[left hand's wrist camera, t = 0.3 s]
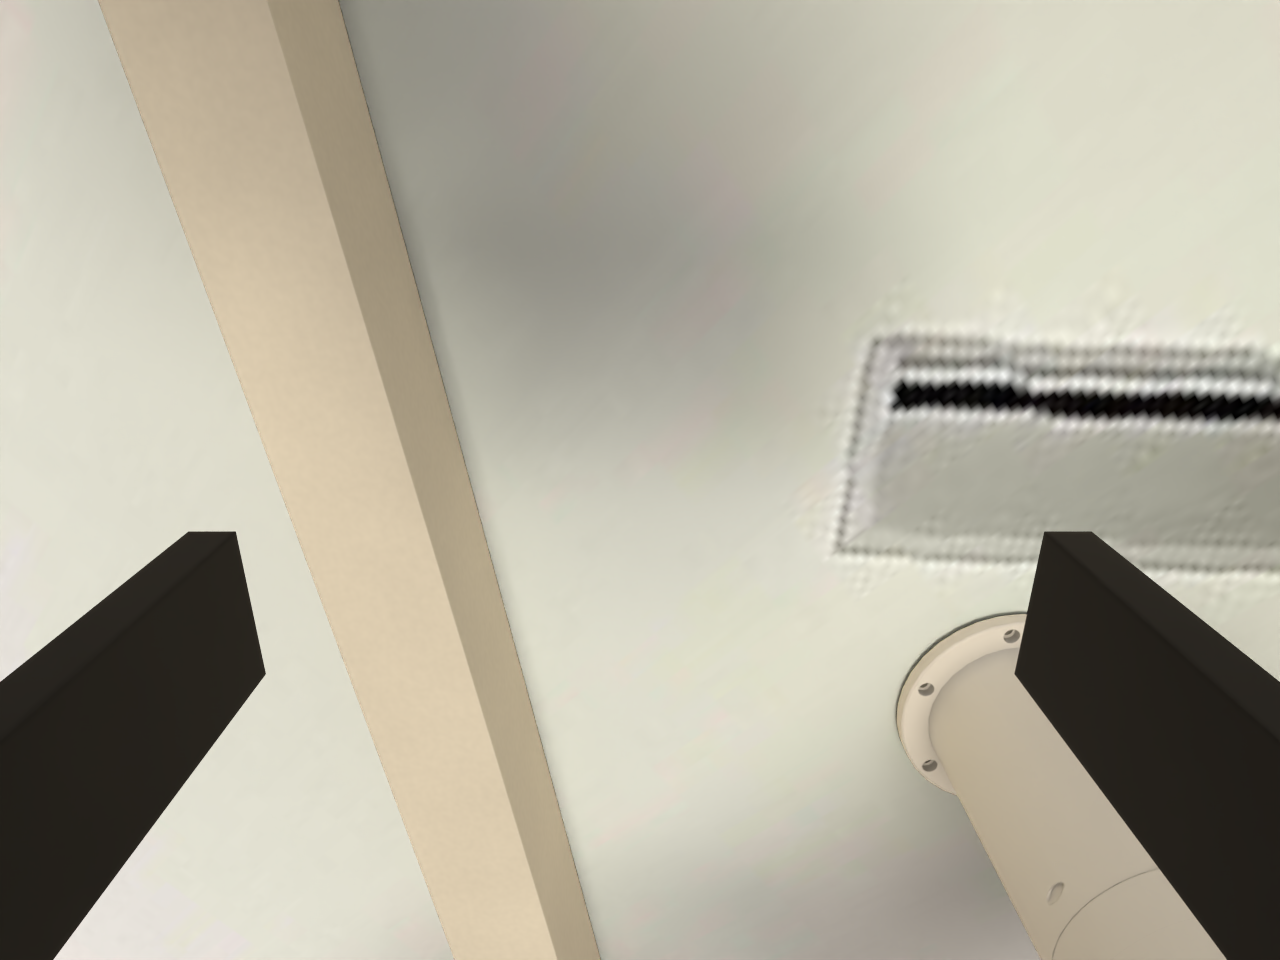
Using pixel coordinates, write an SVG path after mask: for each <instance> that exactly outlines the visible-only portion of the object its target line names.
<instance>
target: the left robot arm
mask: <svg viewBox="0 0 1280 960" xmlns="http://www.w3.org/2000/svg"><path fill="white" fill-rule="evenodd" d="M265 674H266V673H265V668H264V663H263V659H262V654H261V649H260V645H259V640H258V635H257V630H256V626H255V621H254V616H253V611H252V607H251V602H250V597H249V592H248V588H247V583H246V578H245V574H244V569H243V564H242V559H241V555H240V550H239V545H238V540H237V536H236V532H187V533H186V534H185V535H184V536H182V537H181V538H180V539H179V540H177V541H176V542H175V543H174V544H172V545H171V546H170V547H169V548H167V549H166V550H165V551H164V552H162V553H161V554H160V555H159V556H157V557H156V558H155V559H154V560H152V561H151V562H150V563H149V564H147V565H146V566H145V567H144V568H142V569H141V570H140V571H139V572H137V573H136V574H135V575H134V576H132V577H131V578H130V579H129V580H127V581H126V582H125V583H124V584H122V585H121V586H120V587H119V588H117V589H116V590H115V591H114V592H112V593H111V594H110V595H109V596H107V597H106V598H105V599H104V600H102V601H101V602H100V603H99V604H97V605H96V606H95V607H94V608H92V609H91V610H90V611H89V612H87V613H86V614H85V615H84V616H82V617H81V618H80V619H79V620H77V621H76V622H75V623H74V624H72V625H71V626H70V627H69V628H67V629H66V630H65V631H64V632H62V633H61V634H60V635H59V636H57V637H56V638H55V639H54V640H52V641H51V642H50V643H48V644H47V645H46V646H45V647H43V648H42V649H41V650H40V651H38V652H37V653H36V654H35V655H33V656H32V657H31V658H30V659H28V660H27V661H26V662H25V663H23V664H22V665H21V666H20V667H18V668H17V669H16V670H15V671H13V672H12V673H11V674H10V675H8V676H7V677H6V678H5V679H3V680H2V681H1V682H0V960H53V959H54V958H55V957H56V955H57V954H58V953H59V951H60V950H61V948H62V947H63V946H64V944H65V943H66V942H67V940H68V939H69V938H70V936H71V935H72V934H73V932H74V931H75V930H76V928H77V927H78V926H79V924H80V923H81V922H82V920H83V919H84V918H85V916H86V915H87V914H88V912H89V911H90V910H91V908H92V907H93V905H94V904H95V903H96V901H97V900H98V899H99V897H100V896H101V895H102V893H103V892H104V891H105V889H106V888H107V887H108V885H109V884H110V883H111V881H112V880H113V879H114V877H115V876H116V875H117V873H118V872H119V871H120V869H121V868H122V866H123V865H124V864H125V862H126V861H127V860H128V858H129V857H130V856H131V854H132V853H133V852H134V850H135V849H136V848H137V846H138V845H139V844H140V842H141V841H142V840H143V838H144V837H145V836H146V834H147V833H148V832H149V830H150V829H151V828H152V826H153V825H154V823H155V822H156V821H157V819H158V818H159V817H160V815H161V814H162V813H163V811H164V810H165V809H166V807H167V806H168V805H169V803H170V802H171V801H172V799H173V798H174V797H175V795H176V794H177V793H178V791H179V790H180V789H181V787H182V786H183V785H184V783H185V782H186V780H187V779H188V778H189V776H190V775H191V774H192V772H193V771H194V770H195V768H196V767H197V766H198V764H199V763H200V762H201V760H202V759H203V758H204V756H205V755H206V754H207V752H208V751H209V750H210V748H211V747H212V746H213V744H214V743H215V741H216V740H217V739H218V737H219V736H220V735H221V733H222V732H223V731H224V729H225V728H226V727H227V725H228V724H229V723H230V721H231V720H232V719H233V717H234V716H235V715H236V713H237V712H238V711H239V709H240V708H241V707H242V705H243V704H244V703H245V701H246V700H247V698H248V697H249V696H250V694H251V693H252V692H253V690H254V689H255V688H256V686H257V685H258V684H259V682H260V681H261V680H262V678H263V677H264V676H265ZM1014 674H1015V676H1016V677H1017V678H1018V680H1019V681H1020V682H1021V684H1022V685H1023V686H1024V688H1025V689H1026V690H1027V692H1028V693H1029V694H1030V696H1031V697H1032V698H1033V700H1034V701H1035V703H1036V704H1037V705H1038V707H1039V708H1040V709H1041V711H1042V712H1043V713H1044V715H1045V716H1046V717H1047V719H1048V720H1049V721H1050V723H1051V724H1052V725H1053V727H1054V728H1055V729H1056V731H1057V732H1058V733H1059V735H1060V736H1061V737H1062V739H1063V740H1064V742H1065V743H1066V744H1067V746H1068V747H1069V748H1070V750H1071V751H1072V752H1073V754H1074V755H1075V756H1076V758H1077V759H1078V760H1079V762H1080V763H1081V764H1082V766H1083V767H1084V768H1085V770H1086V771H1087V772H1088V774H1089V775H1090V776H1091V778H1092V779H1093V780H1094V782H1095V783H1096V785H1097V786H1098V787H1099V789H1100V790H1101V791H1102V793H1103V794H1104V795H1105V797H1106V798H1107V799H1108V801H1109V802H1110V803H1111V805H1112V806H1113V807H1114V809H1115V810H1116V811H1117V813H1118V814H1119V815H1120V817H1121V818H1122V819H1123V821H1124V822H1125V823H1126V825H1127V826H1128V828H1129V829H1130V830H1131V832H1132V833H1133V834H1134V836H1135V837H1136V838H1137V840H1138V841H1139V842H1140V844H1141V845H1142V846H1143V848H1144V849H1145V850H1146V852H1147V853H1148V854H1149V856H1150V857H1151V858H1152V860H1153V861H1154V862H1155V864H1156V865H1157V866H1158V868H1159V869H1160V871H1161V872H1162V873H1163V875H1164V876H1165V877H1166V879H1167V880H1168V881H1169V883H1170V884H1171V885H1172V887H1173V888H1174V889H1175V891H1176V892H1177V893H1178V895H1179V896H1180V897H1181V899H1182V900H1183V901H1184V903H1185V904H1186V905H1187V907H1188V908H1189V910H1190V911H1191V912H1192V914H1193V915H1194V916H1195V918H1196V919H1197V920H1198V922H1199V923H1200V924H1201V926H1202V927H1203V928H1204V930H1205V931H1206V932H1207V934H1208V935H1209V936H1210V938H1211V939H1212V940H1213V942H1214V943H1215V944H1216V946H1217V947H1218V948H1219V950H1220V951H1221V953H1222V954H1223V955H1224V957H1225V958H1226V959H1227V960H1280V682H1279V681H1278V680H1277V679H1275V678H1274V677H1273V676H1272V675H1270V674H1269V673H1268V672H1267V671H1265V670H1264V669H1263V668H1262V667H1260V666H1259V665H1258V664H1257V663H1255V662H1254V661H1253V660H1252V659H1250V658H1249V657H1248V656H1247V655H1245V654H1244V653H1243V652H1242V651H1240V650H1239V649H1238V648H1237V647H1235V646H1234V645H1233V644H1232V643H1230V642H1229V641H1228V640H1226V639H1225V638H1224V637H1223V636H1221V635H1220V634H1219V633H1218V632H1216V631H1215V630H1214V629H1213V628H1211V627H1210V626H1209V625H1208V624H1206V623H1205V622H1204V621H1203V620H1201V619H1200V618H1199V617H1198V616H1196V615H1195V614H1194V613H1193V612H1191V611H1190V610H1189V609H1188V608H1186V607H1185V606H1184V605H1183V604H1181V603H1180V602H1179V601H1178V600H1176V599H1175V598H1174V597H1173V596H1171V595H1170V594H1169V593H1168V592H1166V591H1165V590H1164V589H1163V588H1161V587H1160V586H1159V585H1158V584H1156V583H1155V582H1154V581H1153V580H1151V579H1150V578H1149V577H1148V576H1146V575H1145V574H1144V573H1143V572H1141V571H1140V570H1139V569H1138V568H1136V567H1135V566H1134V565H1133V564H1131V563H1130V562H1129V561H1128V560H1126V559H1125V558H1124V557H1123V556H1121V555H1120V554H1119V553H1118V552H1116V551H1115V550H1114V549H1113V548H1111V547H1110V546H1109V545H1108V544H1106V543H1105V542H1104V541H1103V540H1101V539H1100V538H1099V537H1098V536H1096V535H1095V534H1094V533H1093V532H1044V536H1043V540H1042V545H1041V550H1040V555H1039V559H1038V564H1037V569H1036V574H1035V578H1034V583H1033V588H1032V592H1031V597H1030V602H1029V607H1028V611H1027V616H1026V621H1025V626H1024V630H1023V635H1022V640H1021V645H1020V649H1019V654H1018V659H1017V663H1016V668H1015V673H1014Z"/></svg>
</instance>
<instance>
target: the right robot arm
mask: <svg viewBox="0 0 1280 960" xmlns="http://www.w3.org/2000/svg"><path fill="white" fill-rule="evenodd" d="M1026 616H1027V614H1016V615H1006V616H998V617H995V618H991V619H987V620H983V621H980V622H977V623H974V624H972V625H970V626H967V627H965V628H963V629H961V630H958V631H956V632H955V633H953V634H952V635H950V636H949V637H947V638H945V639H944V640H942V641H941V642H939V643H938V644H937V645H936V646H935V647H934V648H932V649H931V650H930V651H929V652H928V653H927V654H926V655H925V656H923V658H922V659H921V660H920V661H919V663H918V664H917V665H916V666H915V668H914V669H913V670H912V672H911V673H910V675H909V677H908V679H907V681H906V683H905V685H904V686H903V688H902V692H901V695H900V699H899V702H898V706H897V727H898V732H899V737H900V740H901V742H902V745H903V747H904V749H905V752H906V754H907V756H908V758H909V759H910V761H911V762H912V764H913V766H914V767H915V769H916V770H917V771H918V772H919V773H920V774H921V775H922V776H923V777H924V778H925V779H926V780H927V781H929V782H931V783H932V784H934V785H935V786H937V787H938V788H940V789H942V790H944V791H946V792H949V793H951V794H954V795H956V796H958V798H959V800H960V802H961V804H962V806H963V807H964V809H965V811H966V813H967V815H968V817H969V819H970V821H971V823H972V825H973V827H974V829H975V831H976V833H977V835H978V837H979V839H980V841H981V843H982V845H983V847H984V849H985V851H986V853H987V855H988V857H989V859H990V861H991V863H992V864H993V866H994V868H995V870H996V872H997V874H998V876H999V878H1000V880H1001V882H1002V884H1003V886H1004V888H1005V890H1006V892H1007V894H1008V896H1009V898H1010V900H1011V902H1012V904H1013V906H1014V908H1015V910H1016V912H1017V914H1018V916H1019V918H1020V920H1021V922H1022V923H1023V925H1024V927H1025V929H1026V931H1027V933H1028V935H1029V937H1030V939H1031V941H1032V943H1033V945H1034V947H1035V949H1036V951H1037V953H1038V955H1039V957H1040V959H1041V960H1227V959H1226V958H1225V957H1224V955H1223V954H1222V953H1221V951H1220V950H1219V948H1218V947H1217V946H1216V944H1215V943H1214V942H1213V940H1212V939H1211V938H1210V936H1209V935H1208V934H1207V932H1206V931H1205V930H1204V928H1203V927H1202V926H1201V924H1200V923H1199V922H1198V920H1197V919H1196V918H1195V916H1194V915H1193V914H1192V912H1191V911H1190V910H1189V908H1188V907H1187V905H1186V904H1185V903H1184V901H1183V900H1182V899H1181V897H1180V896H1179V895H1178V893H1177V892H1176V891H1175V889H1174V888H1173V887H1172V885H1171V884H1170V883H1169V881H1168V880H1167V879H1166V877H1165V876H1164V875H1163V873H1162V872H1161V871H1160V869H1159V868H1158V866H1157V865H1156V864H1155V862H1154V861H1153V860H1152V858H1151V857H1150V856H1149V854H1148V853H1147V852H1146V850H1145V849H1144V848H1143V846H1142V845H1141V844H1140V842H1139V841H1138V840H1137V838H1136V837H1135V836H1134V834H1133V833H1132V832H1131V830H1130V829H1129V828H1128V826H1127V825H1126V823H1125V822H1124V821H1123V819H1122V818H1121V817H1120V815H1119V814H1118V813H1117V811H1116V810H1115V809H1114V807H1113V806H1112V805H1111V803H1110V802H1109V801H1108V799H1107V798H1106V797H1105V795H1104V794H1103V793H1102V791H1101V790H1100V789H1099V787H1098V786H1097V785H1096V783H1095V782H1094V780H1093V779H1092V778H1091V776H1090V775H1089V774H1088V772H1087V771H1086V770H1085V768H1084V767H1083V766H1082V764H1081V763H1080V762H1079V760H1078V759H1077V758H1076V756H1075V755H1074V754H1073V752H1072V751H1071V750H1070V748H1069V747H1068V746H1067V744H1066V743H1065V742H1064V740H1063V739H1062V737H1061V736H1060V735H1059V733H1058V732H1057V731H1056V729H1055V728H1054V727H1053V725H1052V724H1051V723H1050V721H1049V720H1048V719H1047V717H1046V716H1045V715H1044V713H1043V712H1042V711H1041V709H1040V708H1039V707H1038V705H1037V704H1036V703H1035V701H1034V700H1033V698H1032V697H1031V696H1030V694H1029V693H1028V692H1027V690H1026V689H1025V688H1024V686H1023V685H1022V684H1021V682H1020V681H1019V680H1018V678H1017V677H1016V676H1015V674H1014V673H1015V668H1016V663H1017V659H1018V654H1019V649H1020V645H1021V640H1022V635H1023V630H1024V626H1025V621H1026Z"/></svg>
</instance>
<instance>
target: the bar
mask: <svg viewBox="0 0 1280 960" xmlns="http://www.w3.org/2000/svg"><path fill="white" fill-rule="evenodd" d="M98 2H99V4H100V7H101V10H102V12H103V15H104V18H105V20H106V23H107V26H108V28H109V31H110V34H111V37H112V39H113V42H114V45H115V47H116V50H117V53H118V55H119V58H120V61H121V63H122V66H123V69H124V71H125V74H126V77H127V80H128V82H129V85H130V88H131V90H132V93H133V96H134V98H135V101H136V104H137V106H138V109H139V112H140V115H141V117H142V120H143V123H144V125H145V128H146V131H147V133H148V136H149V139H150V141H151V144H152V147H153V150H154V152H155V155H156V158H157V160H158V163H159V166H160V168H161V171H162V174H163V176H164V179H165V182H166V184H167V187H168V190H169V193H170V195H171V198H172V201H173V203H174V206H175V209H176V211H177V214H178V217H179V219H180V222H181V225H182V228H183V230H184V233H185V236H186V238H187V241H188V244H189V246H190V249H191V252H192V254H193V257H194V260H195V263H196V265H197V268H198V271H199V273H200V276H201V279H202V281H203V284H204V287H205V289H206V292H207V295H208V297H209V300H210V303H211V306H212V308H213V311H214V314H215V316H216V319H217V322H218V324H219V327H220V330H221V332H222V335H223V338H224V341H225V343H226V346H227V349H228V351H229V354H230V357H231V359H232V362H233V365H234V367H235V370H236V373H237V376H238V378H239V381H240V384H241V386H242V389H243V392H244V394H245V397H246V400H247V402H248V405H249V408H250V410H251V413H252V416H253V419H254V421H255V424H256V427H257V429H258V432H259V435H260V437H261V440H262V443H263V445H264V448H265V451H266V454H267V456H268V459H269V462H270V464H271V467H272V470H273V472H274V475H275V478H276V480H277V483H278V486H279V489H280V491H281V494H282V497H283V499H284V502H285V505H286V507H287V510H288V513H289V515H290V518H291V521H292V523H293V526H294V529H295V532H296V534H297V537H298V540H299V542H300V545H301V548H302V550H303V553H304V556H305V558H306V561H307V564H308V567H309V569H310V572H311V575H312V577H313V580H314V583H315V585H316V588H317V591H318V593H319V596H320V599H321V602H322V604H323V607H324V610H325V612H326V615H327V618H328V620H329V623H330V626H331V628H332V631H333V634H334V637H335V639H336V642H337V645H338V647H339V650H340V653H341V655H342V658H343V661H344V663H345V666H346V669H347V671H348V674H349V677H350V680H351V682H352V685H353V688H354V690H355V693H356V696H357V698H358V701H359V704H360V706H361V709H362V712H363V715H364V717H365V720H366V723H367V725H368V728H369V731H370V733H371V736H372V739H373V741H374V744H375V747H376V750H377V752H378V755H379V758H380V760H381V763H382V766H383V768H384V771H385V774H386V776H387V779H388V782H389V784H390V787H391V790H392V793H393V795H394V798H395V801H396V803H397V806H398V809H399V811H400V814H401V817H402V819H403V822H404V825H405V828H406V830H407V833H408V836H409V838H410V841H411V844H412V846H413V849H414V852H415V854H416V857H417V860H418V863H419V865H420V868H421V871H422V873H423V876H424V879H425V881H426V884H427V887H428V889H429V892H430V895H431V897H432V900H433V903H434V906H435V908H436V911H437V914H438V916H439V919H440V922H441V924H442V927H443V930H444V932H445V935H446V938H447V941H448V943H449V946H450V949H451V951H452V954H453V957H454V959H455V960H601V959H600V955H599V952H598V948H597V945H596V941H595V937H594V934H593V930H592V926H591V923H590V919H589V915H588V912H587V908H586V904H585V901H584V897H583V893H582V890H581V886H580V882H579V879H578V875H577V871H576V868H575V864H574V860H573V857H572V853H571V849H570V846H569V842H568V839H567V835H566V831H565V828H564V824H563V820H562V817H561V813H560V809H559V806H558V802H557V798H556V795H555V791H554V787H553V784H552V780H551V776H550V773H549V769H548V765H547V762H546V758H545V754H544V751H543V747H542V743H541V740H540V736H539V733H538V729H537V725H536V722H535V718H534V714H533V711H532V707H531V703H530V700H529V696H528V692H527V689H526V685H525V681H524V678H523V674H522V670H521V667H520V663H519V659H518V656H517V652H516V648H515V645H514V641H513V637H512V634H511V630H510V627H509V623H508V619H507V616H506V612H505V608H504V605H503V601H502V597H501V594H500V590H499V586H498V583H497V579H496V575H495V572H494V568H493V564H492V561H491V557H490V553H489V550H488V546H487V542H486V539H485V535H484V531H483V528H482V524H481V521H480V517H479V513H478V510H477V506H476V502H475V499H474V495H473V491H472V488H471V484H470V480H469V477H468V473H467V469H466V466H465V462H464V458H463V455H462V451H461V447H460V444H459V440H458V436H457V433H456V429H455V425H454V422H453V418H452V415H451V411H450V407H449V404H448V400H447V396H446V393H445V389H444V385H443V382H442V378H441V374H440V371H439V367H438V363H437V360H436V356H435V352H434V349H433V345H432V341H431V338H430V334H429V330H428V327H427V323H426V319H425V316H424V312H423V309H422V305H421V301H420V298H419V294H418V290H417V287H416V283H415V279H414V276H413V272H412V268H411V265H410V261H409V257H408V254H407V250H406V246H405V243H404V239H403V235H402V232H401V228H400V224H399V221H398V217H397V213H396V210H395V206H394V202H393V199H392V195H391V192H390V188H389V184H388V181H387V177H386V173H385V170H384V166H383V162H382V159H381V155H380V151H379V148H378V144H377V140H376V137H375V133H374V129H373V126H372V122H371V118H370V115H369V111H368V107H367V104H366V100H365V96H364V93H363V89H362V86H361V82H360V78H359V75H358V71H357V67H356V64H355V60H354V56H353V53H352V49H351V45H350V42H349V38H348V34H347V31H346V27H345V23H344V20H343V16H342V12H341V9H340V5H339V1H338V0H98Z"/></svg>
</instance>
